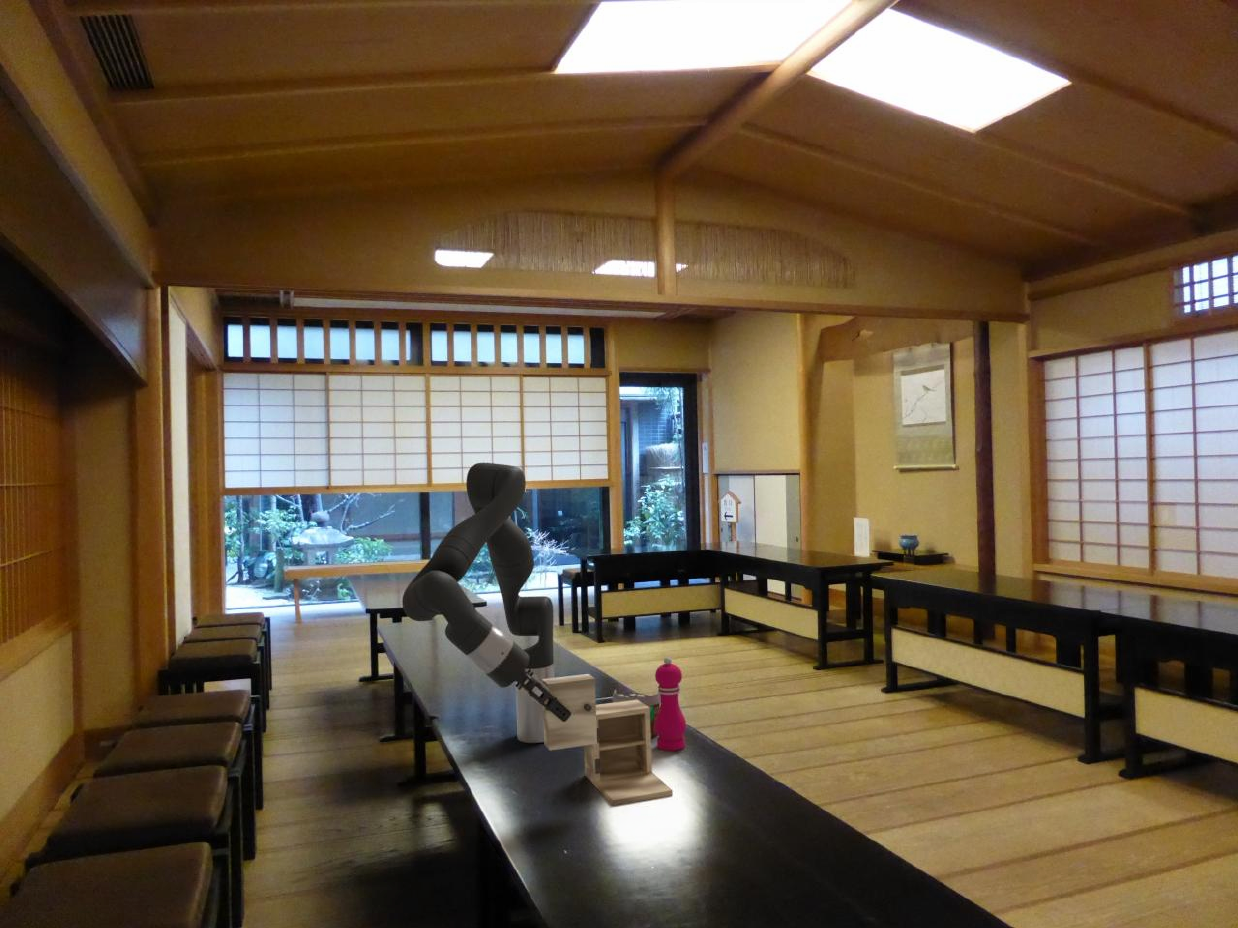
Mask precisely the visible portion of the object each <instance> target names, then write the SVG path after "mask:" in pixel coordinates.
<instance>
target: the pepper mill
mask: <svg viewBox="0 0 1238 928" xmlns="http://www.w3.org/2000/svg"><path fill="white" fill-rule="evenodd" d="M663 663H664V664H663ZM663 663H662V664H661V665H659V666H658V667H657V668H656V670H655V673H654V675H655V676H654V678H655V681H656V682H657V684H658V686H657V689H658V691H657V692H658V693H660V698H661V703H660V709H659V712H658V714H657V717H656V720H655V726H654V729H655V732H656V733H657V734H658V735H657V736H658V737H657V739H656V745H657V746H656V747H657V748H658V749H659V750H662V751H665V752H667V751H668V752H669V751H670V752H672V751H673V752H674V751H680V750H682V749H684V748H685V747H686V739H685V738H686V737H684V734H685V733H686V731H687V722H686V721H687V720H686V719H685V715H684V714H683V712H682V710H681V707H680V704H679V703H680V702H679V694H680V693H681V689H680V688H681V685H680V682H681V681H682V678H683V674H682V671H681V669H680V667H679V666H678V665H676V664H673V660H672V658H671V657H670V656H667V657H665V658H664V659H663ZM658 693H657V694H658Z"/></svg>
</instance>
